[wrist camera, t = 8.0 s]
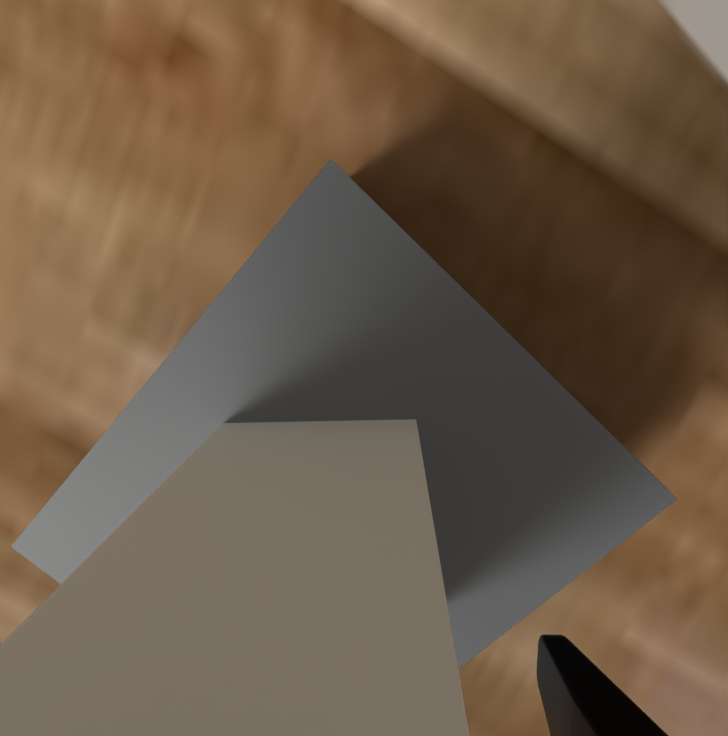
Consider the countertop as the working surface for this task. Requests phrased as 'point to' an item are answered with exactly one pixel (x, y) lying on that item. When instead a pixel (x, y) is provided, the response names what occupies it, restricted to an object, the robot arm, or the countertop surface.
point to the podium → (376, 412)
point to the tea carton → (254, 600)
